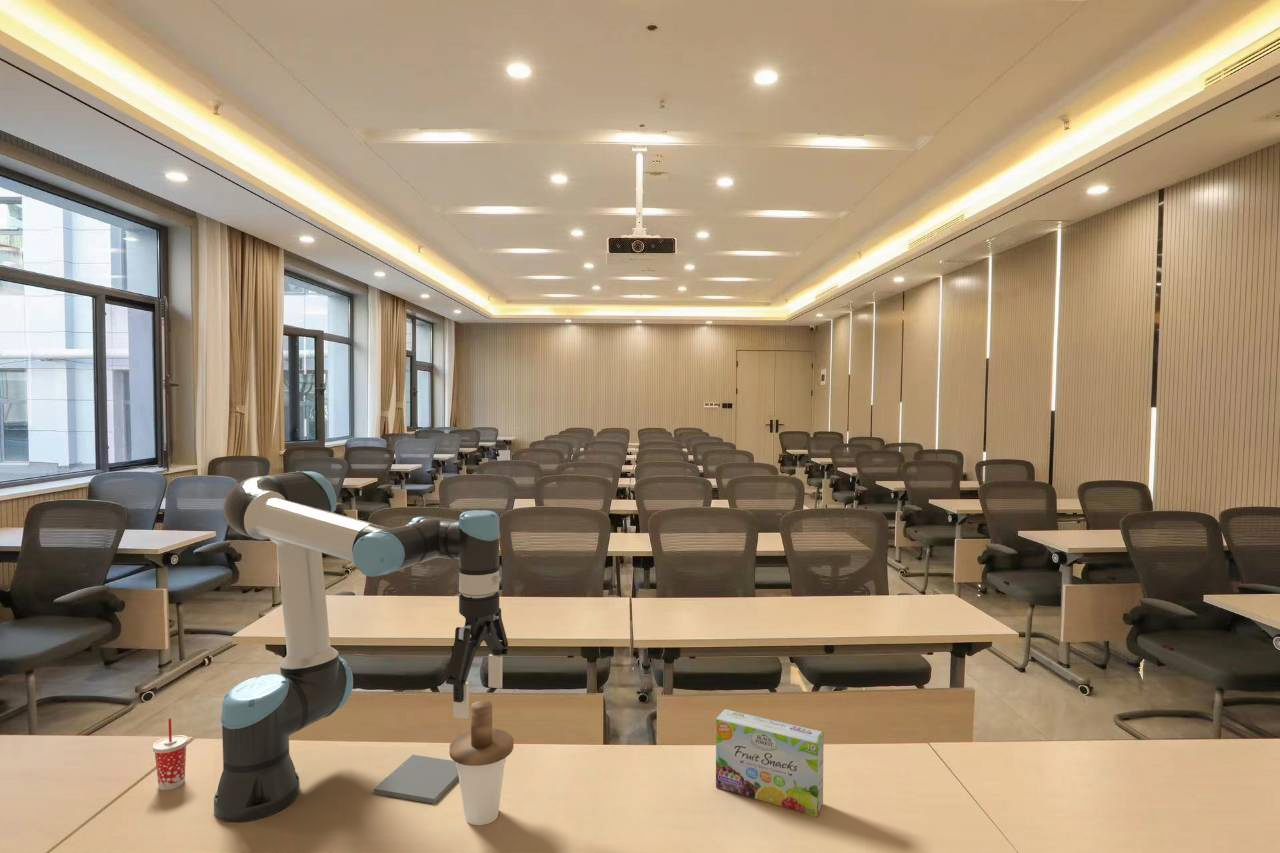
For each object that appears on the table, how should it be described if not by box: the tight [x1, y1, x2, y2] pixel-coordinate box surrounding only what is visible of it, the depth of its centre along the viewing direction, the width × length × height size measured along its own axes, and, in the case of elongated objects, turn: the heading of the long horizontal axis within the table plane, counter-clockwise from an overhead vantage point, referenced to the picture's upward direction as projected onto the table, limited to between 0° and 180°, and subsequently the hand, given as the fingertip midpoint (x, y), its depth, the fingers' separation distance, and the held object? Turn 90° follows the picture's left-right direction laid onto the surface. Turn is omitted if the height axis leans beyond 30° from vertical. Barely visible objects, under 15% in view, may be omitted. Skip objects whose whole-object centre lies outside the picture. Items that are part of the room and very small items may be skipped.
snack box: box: [715, 708, 825, 817], centre depth 141 cm, size 21×6×15 cm, turn 62°
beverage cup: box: [152, 717, 189, 791], centre depth 145 cm, size 6×6×14 cm
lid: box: [449, 700, 514, 766], centre depth 134 cm, size 12×12×9 cm
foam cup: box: [456, 757, 507, 826], centre depth 134 cm, size 10×9×13 cm
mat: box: [372, 754, 459, 804], centre depth 147 cm, size 14×14×1 cm
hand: (479, 701), depth 134 cm, fingers open, 13 cm apart
